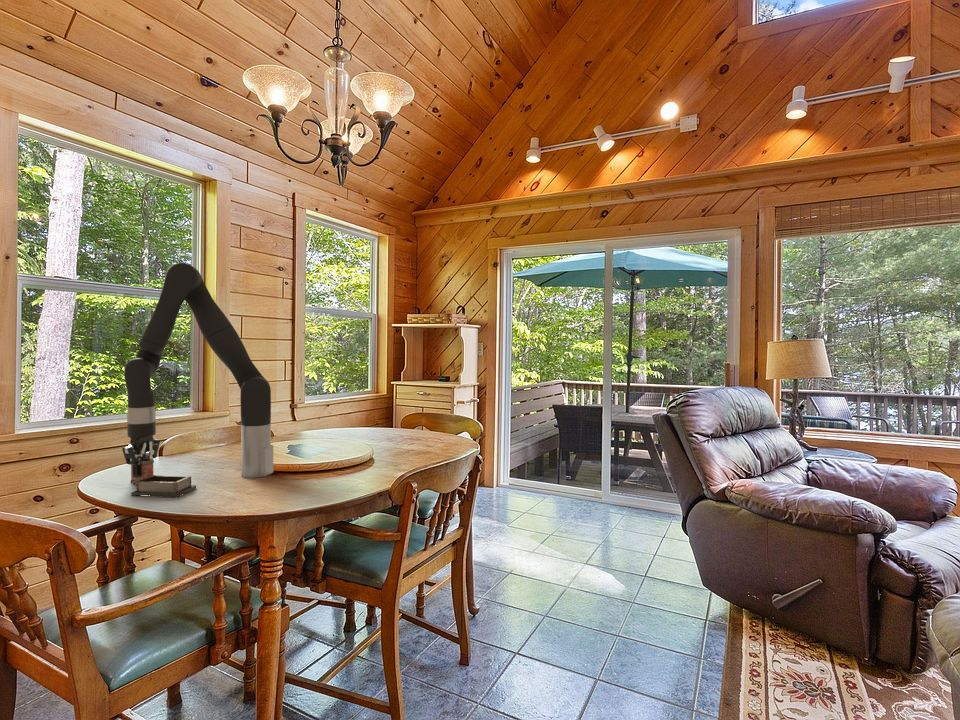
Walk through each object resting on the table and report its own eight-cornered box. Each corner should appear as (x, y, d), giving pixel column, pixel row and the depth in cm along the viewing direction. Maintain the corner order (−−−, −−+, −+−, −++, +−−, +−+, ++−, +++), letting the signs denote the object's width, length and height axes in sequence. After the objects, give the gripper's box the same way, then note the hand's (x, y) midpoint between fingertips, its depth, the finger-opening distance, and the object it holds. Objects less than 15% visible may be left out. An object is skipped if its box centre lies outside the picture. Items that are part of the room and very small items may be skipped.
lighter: (157, 482, 163) (156, 451, 163) (147, 485, 160) (147, 454, 160) (137, 480, 165) (136, 450, 165) (127, 483, 162) (127, 452, 162)
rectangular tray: (152, 487, 159) (152, 474, 159) (196, 488, 158) (196, 475, 158) (131, 495, 150) (130, 482, 150) (177, 497, 149) (176, 483, 149)
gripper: (136, 425, 155) (137, 481, 155) (168, 417, 169) (168, 469, 169) (112, 424, 155) (113, 480, 156) (146, 417, 169) (147, 469, 170)
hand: (142, 474), depth 163 cm, fingers closed on lighter, 3 cm apart
